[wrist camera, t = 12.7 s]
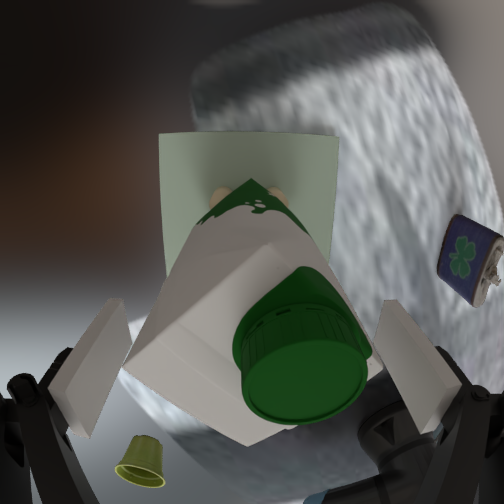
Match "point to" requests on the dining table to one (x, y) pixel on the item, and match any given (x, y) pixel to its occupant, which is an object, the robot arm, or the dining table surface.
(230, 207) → the soya milk
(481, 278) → the flask
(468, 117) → the dining table surface
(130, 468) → the plant pot
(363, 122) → the dining table surface
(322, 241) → the peg stand
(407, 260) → the dining table surface
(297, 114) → the dining table surface
